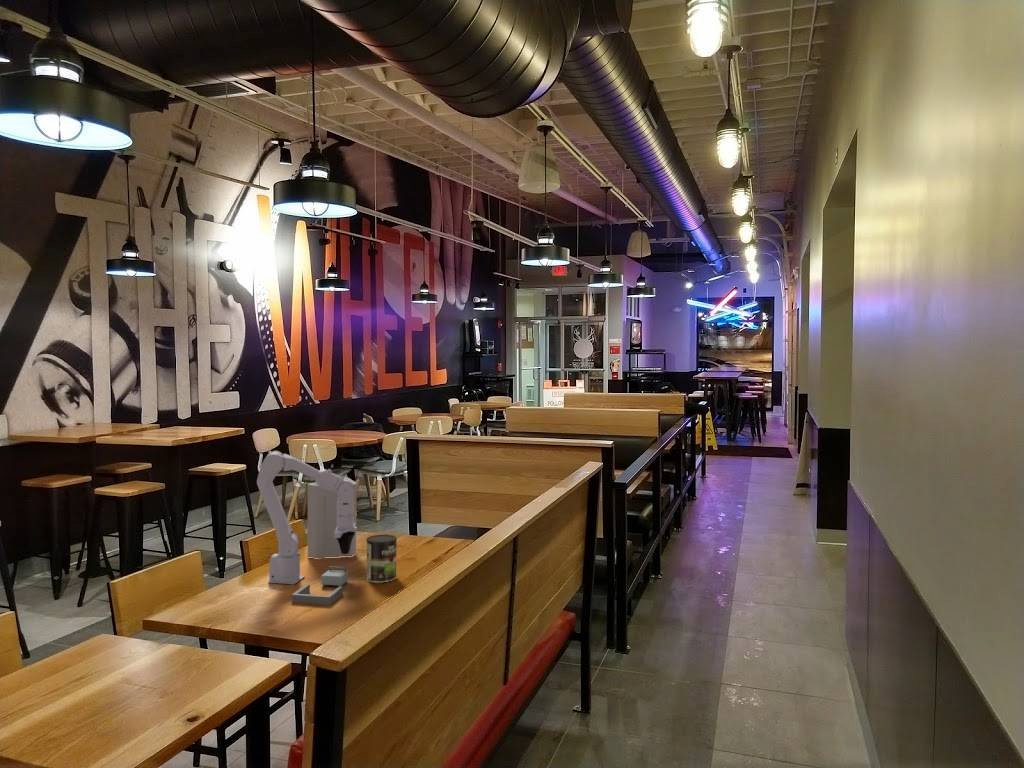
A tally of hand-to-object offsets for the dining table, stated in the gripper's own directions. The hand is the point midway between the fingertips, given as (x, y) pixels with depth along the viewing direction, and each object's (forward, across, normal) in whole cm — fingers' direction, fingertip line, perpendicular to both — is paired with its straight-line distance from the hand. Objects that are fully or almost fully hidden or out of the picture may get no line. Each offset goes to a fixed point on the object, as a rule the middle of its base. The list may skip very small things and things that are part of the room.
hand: (345, 553), depth 239 cm
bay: (+8, -22, 0) cm, 23 cm away
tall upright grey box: (+8, +26, +13) cm, 30 cm away
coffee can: (+8, 0, -13) cm, 15 cm away
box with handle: (+8, -8, 0) cm, 12 cm away
